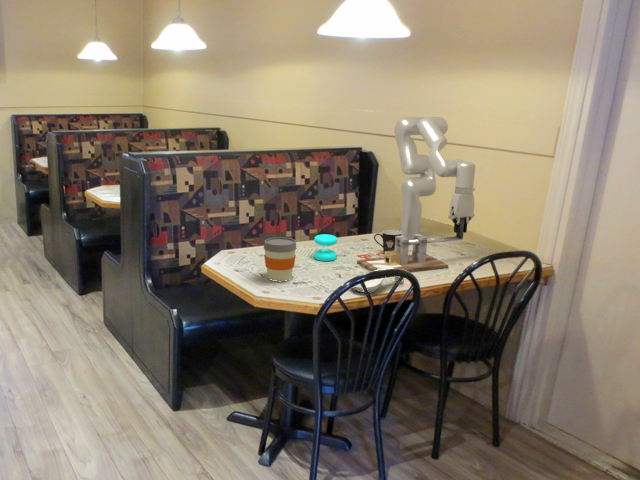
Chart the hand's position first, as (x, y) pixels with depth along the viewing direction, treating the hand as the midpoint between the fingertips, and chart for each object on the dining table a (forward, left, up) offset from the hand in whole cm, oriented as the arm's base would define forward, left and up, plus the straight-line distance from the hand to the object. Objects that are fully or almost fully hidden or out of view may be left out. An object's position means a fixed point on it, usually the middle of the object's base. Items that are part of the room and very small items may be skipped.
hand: (460, 231), depth 258 cm
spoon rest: (+20, -52, -13) cm, 58 cm away
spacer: (0, -34, -11) cm, 35 cm away
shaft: (0, -14, -4) cm, 15 cm away
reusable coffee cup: (-1, -83, -13) cm, 84 cm away
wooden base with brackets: (0, -29, -13) cm, 31 cm away
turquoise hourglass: (-20, -55, -13) cm, 60 cm away
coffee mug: (-19, -24, -13) cm, 34 cm away
